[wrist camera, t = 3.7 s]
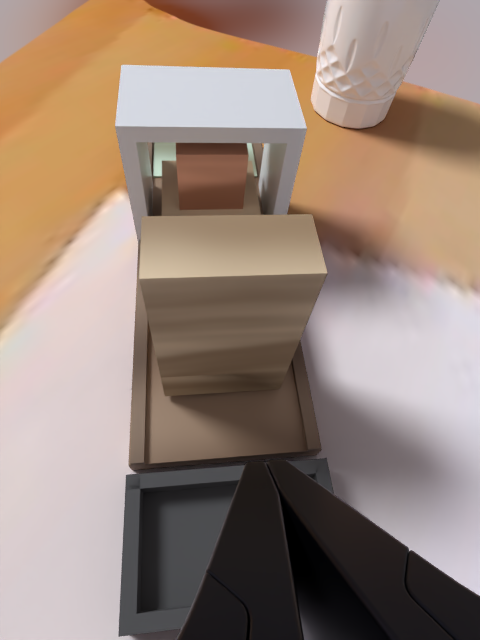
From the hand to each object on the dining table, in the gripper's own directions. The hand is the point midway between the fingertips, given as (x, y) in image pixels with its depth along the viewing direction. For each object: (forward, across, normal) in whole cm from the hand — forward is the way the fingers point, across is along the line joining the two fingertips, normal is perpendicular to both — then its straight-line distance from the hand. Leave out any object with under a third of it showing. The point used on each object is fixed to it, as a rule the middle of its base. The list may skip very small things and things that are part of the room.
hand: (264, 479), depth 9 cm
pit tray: (+8, 0, +8) cm, 11 cm away
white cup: (+31, -13, -15) cm, 37 cm away
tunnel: (+21, 0, -5) cm, 22 cm away
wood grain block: (+16, 0, -2) cm, 16 cm away
